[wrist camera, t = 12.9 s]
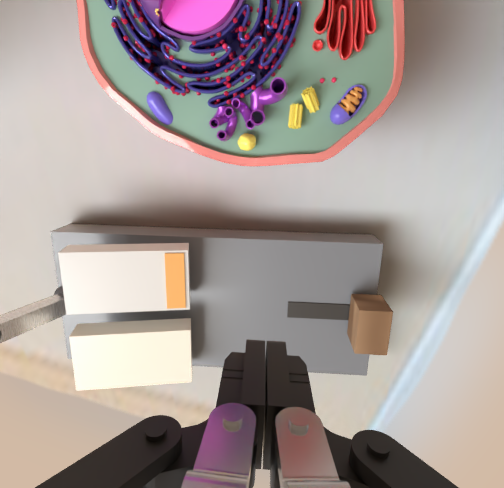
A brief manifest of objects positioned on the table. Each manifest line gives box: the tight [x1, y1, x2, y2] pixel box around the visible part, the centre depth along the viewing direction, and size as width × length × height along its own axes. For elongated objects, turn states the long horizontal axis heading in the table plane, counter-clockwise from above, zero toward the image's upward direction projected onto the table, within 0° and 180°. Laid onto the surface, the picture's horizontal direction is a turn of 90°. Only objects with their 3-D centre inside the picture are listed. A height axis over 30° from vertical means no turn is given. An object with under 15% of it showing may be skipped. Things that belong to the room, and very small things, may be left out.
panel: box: [51, 224, 383, 376], centre depth 32 cm, size 28×12×3 cm, turn 89°
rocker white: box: [58, 243, 190, 315], centre depth 27 cm, size 9×5×2 cm, turn 88°
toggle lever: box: [0, 293, 66, 343], centre depth 27 cm, size 2×2×7 cm
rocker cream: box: [69, 318, 192, 391], centre depth 29 cm, size 9×5×2 cm, turn 88°
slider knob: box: [347, 294, 393, 355], centre depth 28 cm, size 2×4×3 cm, turn 179°
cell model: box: [77, 0, 405, 166], centre depth 22 cm, size 17×20×11 cm
